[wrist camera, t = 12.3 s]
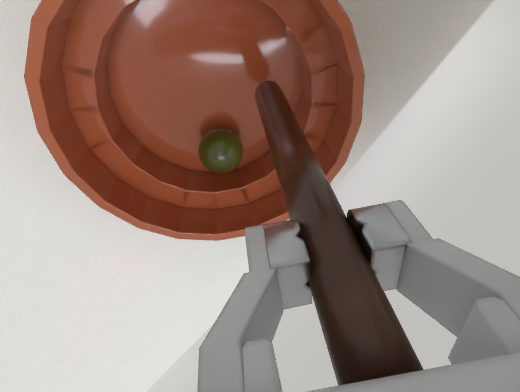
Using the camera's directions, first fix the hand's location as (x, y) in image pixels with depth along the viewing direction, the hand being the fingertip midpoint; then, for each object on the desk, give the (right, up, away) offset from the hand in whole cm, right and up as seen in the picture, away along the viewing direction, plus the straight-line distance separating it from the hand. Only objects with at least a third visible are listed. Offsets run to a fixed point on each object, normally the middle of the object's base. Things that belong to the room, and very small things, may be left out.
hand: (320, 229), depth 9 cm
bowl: (-5, +8, +12) cm, 15 cm away
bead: (-4, +4, +12) cm, 13 cm away
